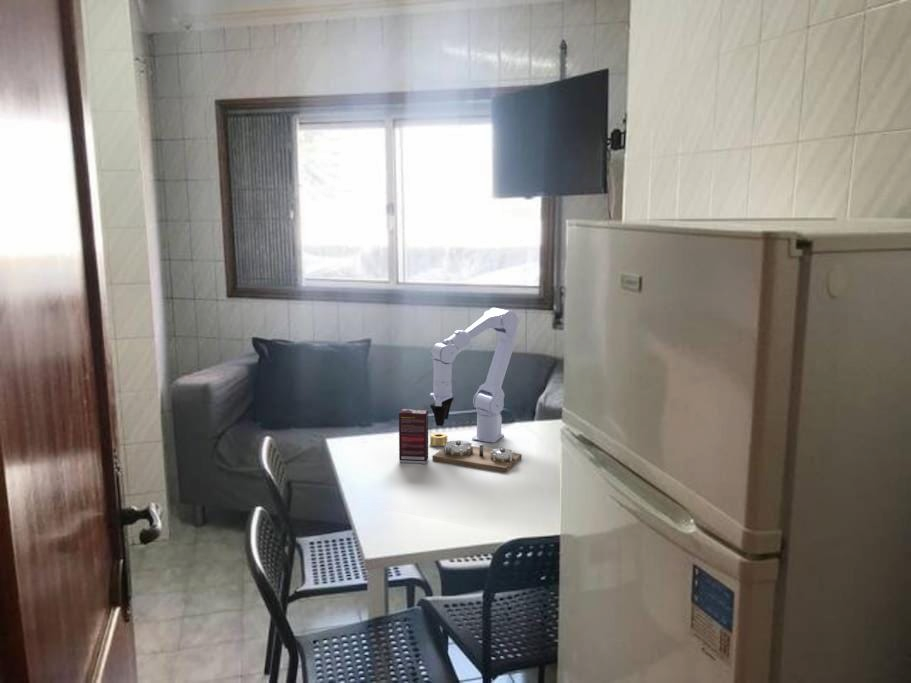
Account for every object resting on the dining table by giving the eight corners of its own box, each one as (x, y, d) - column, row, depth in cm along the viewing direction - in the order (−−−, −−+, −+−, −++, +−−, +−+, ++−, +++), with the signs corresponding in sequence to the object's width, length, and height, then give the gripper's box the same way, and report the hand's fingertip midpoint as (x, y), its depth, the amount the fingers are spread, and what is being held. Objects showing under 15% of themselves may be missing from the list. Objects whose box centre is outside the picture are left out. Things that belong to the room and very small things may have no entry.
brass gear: (434, 440, 251) (434, 431, 250) (450, 443, 249) (450, 434, 248) (427, 445, 246) (427, 436, 245) (442, 448, 243) (443, 439, 243)
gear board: (451, 447, 244) (451, 432, 243) (521, 458, 235) (521, 442, 234) (432, 460, 232) (432, 444, 231) (505, 472, 222) (506, 456, 221)
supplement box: (428, 459, 233) (429, 409, 230) (426, 464, 228) (427, 413, 225) (401, 457, 234) (401, 408, 231) (398, 462, 229) (398, 412, 226)
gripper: (434, 375, 247) (434, 415, 250) (425, 385, 233) (425, 427, 236) (456, 376, 246) (455, 416, 248) (447, 386, 232) (447, 429, 234)
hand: (442, 422), depth 242 cm, fingers open, 7 cm apart
